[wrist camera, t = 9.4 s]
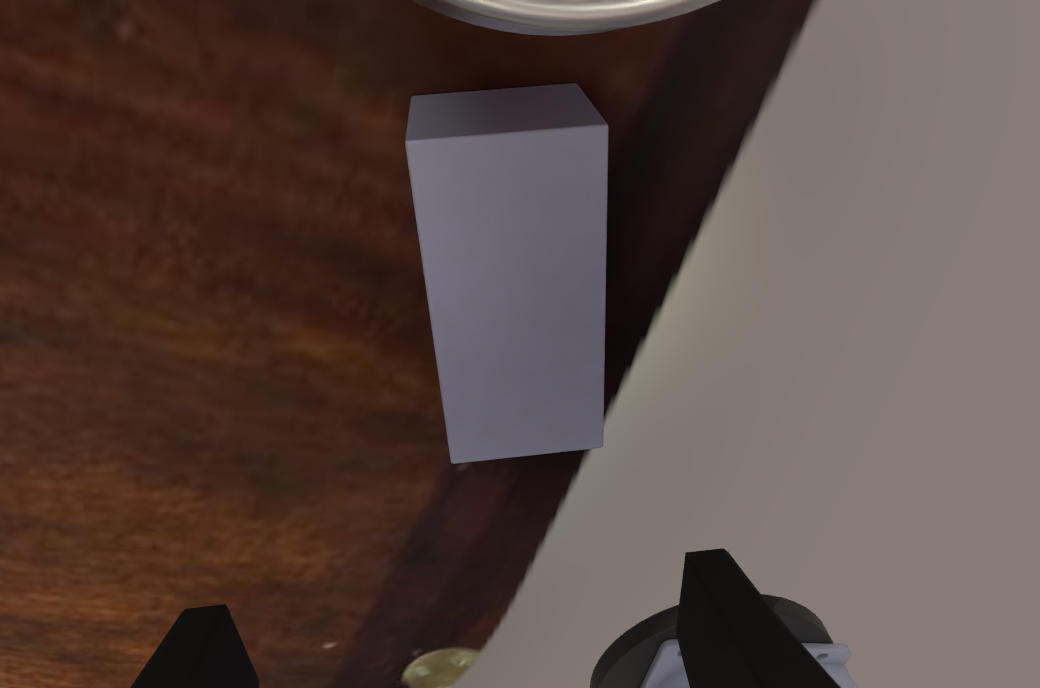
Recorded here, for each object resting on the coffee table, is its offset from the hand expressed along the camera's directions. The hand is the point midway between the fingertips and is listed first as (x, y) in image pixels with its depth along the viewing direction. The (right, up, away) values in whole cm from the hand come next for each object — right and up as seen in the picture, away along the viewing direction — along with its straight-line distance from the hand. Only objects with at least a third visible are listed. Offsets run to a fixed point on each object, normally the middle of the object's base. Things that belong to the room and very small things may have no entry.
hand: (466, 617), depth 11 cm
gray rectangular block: (0, +7, +7) cm, 10 cm away
